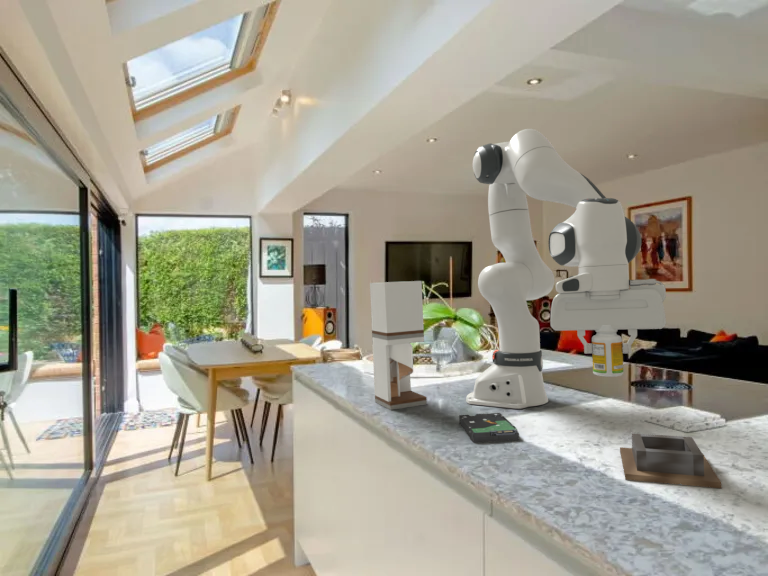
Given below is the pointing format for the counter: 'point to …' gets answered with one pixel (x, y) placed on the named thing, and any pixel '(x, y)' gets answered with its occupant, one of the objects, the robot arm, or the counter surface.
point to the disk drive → (488, 427)
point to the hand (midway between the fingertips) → (607, 353)
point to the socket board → (667, 461)
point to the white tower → (396, 341)
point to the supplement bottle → (607, 352)
